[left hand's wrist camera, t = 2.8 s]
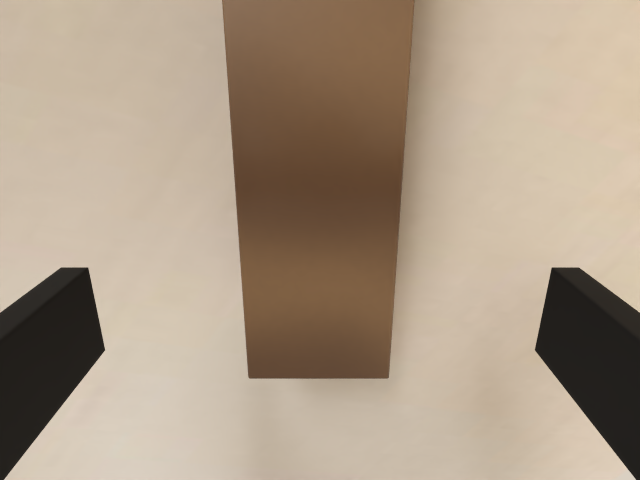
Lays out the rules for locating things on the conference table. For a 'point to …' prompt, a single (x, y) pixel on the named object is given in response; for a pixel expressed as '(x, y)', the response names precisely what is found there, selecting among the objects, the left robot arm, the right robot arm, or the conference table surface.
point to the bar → (318, 179)
